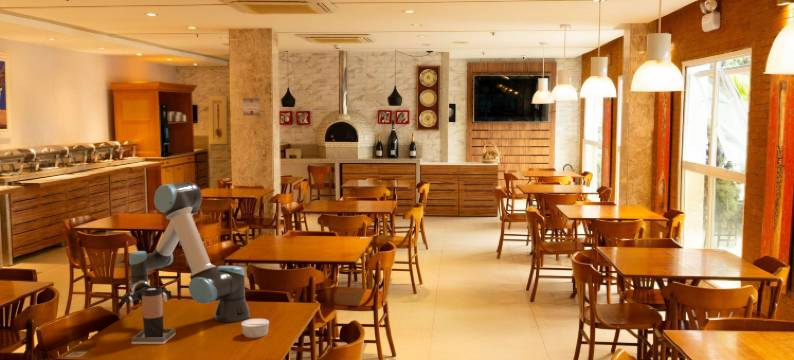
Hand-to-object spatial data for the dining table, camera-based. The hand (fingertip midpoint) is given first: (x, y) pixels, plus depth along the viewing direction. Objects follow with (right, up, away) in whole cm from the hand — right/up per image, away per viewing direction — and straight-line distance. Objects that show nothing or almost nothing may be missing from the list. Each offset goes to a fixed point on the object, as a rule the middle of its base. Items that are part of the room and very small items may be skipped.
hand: (149, 301), depth 302 cm
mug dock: (+5, -14, -8) cm, 17 cm away
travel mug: (+5, -13, -8) cm, 16 cm away
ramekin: (+45, -13, -4) cm, 47 cm away
